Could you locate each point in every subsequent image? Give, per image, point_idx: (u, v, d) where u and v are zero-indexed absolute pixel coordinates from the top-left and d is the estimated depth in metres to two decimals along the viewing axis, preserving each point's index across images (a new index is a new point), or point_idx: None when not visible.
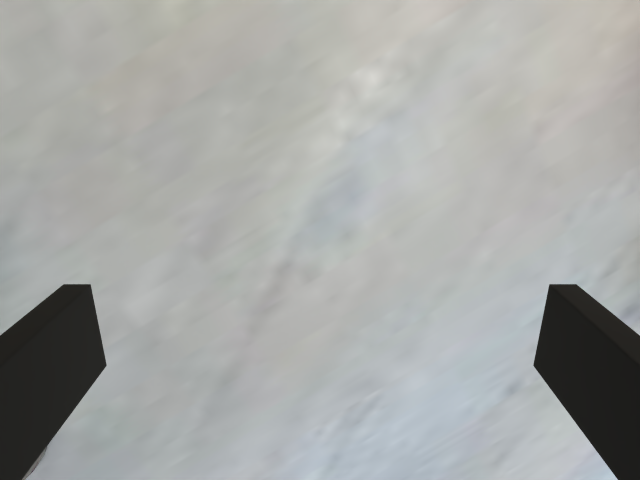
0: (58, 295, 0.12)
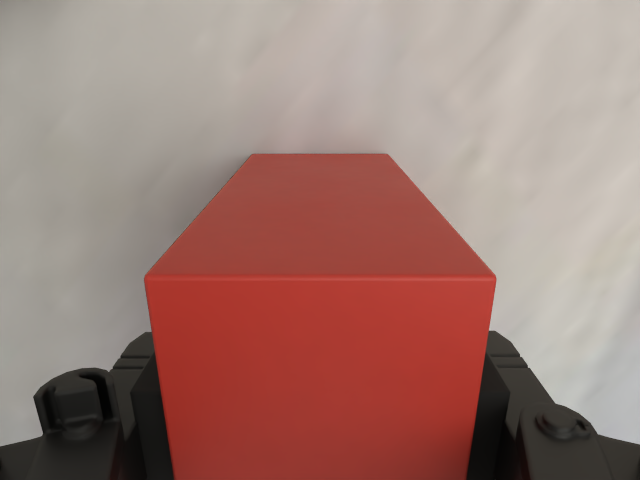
0: None
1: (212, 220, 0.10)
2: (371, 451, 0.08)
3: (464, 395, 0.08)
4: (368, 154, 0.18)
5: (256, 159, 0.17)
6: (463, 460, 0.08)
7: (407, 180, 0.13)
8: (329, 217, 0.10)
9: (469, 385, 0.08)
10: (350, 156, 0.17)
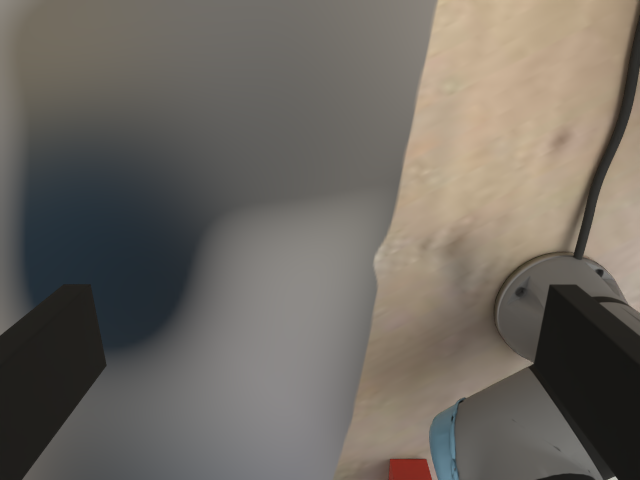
0: (57, 295, 0.12)
1: None
2: None
3: None
4: (421, 460, 0.67)
5: (393, 466, 0.66)
6: None
7: None
8: None
9: None
10: (416, 462, 0.67)
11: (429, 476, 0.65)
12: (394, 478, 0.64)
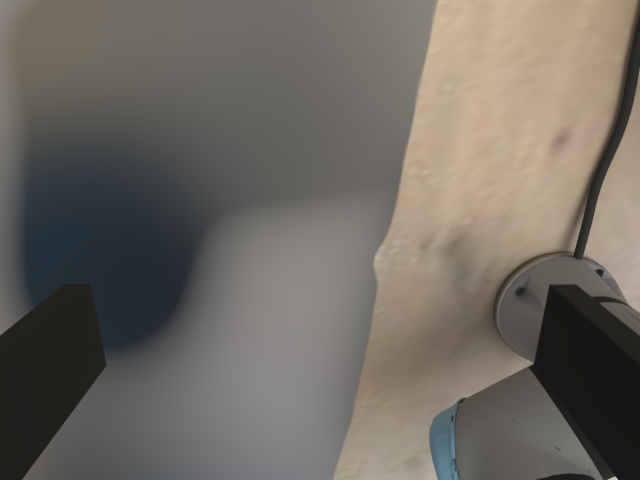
0: (57, 295, 0.12)
1: None
2: None
3: None
4: None
5: None
6: None
7: None
8: None
9: None
10: None
11: None
12: None
